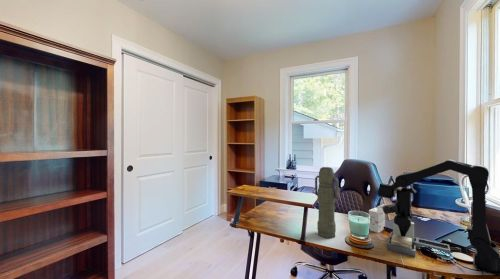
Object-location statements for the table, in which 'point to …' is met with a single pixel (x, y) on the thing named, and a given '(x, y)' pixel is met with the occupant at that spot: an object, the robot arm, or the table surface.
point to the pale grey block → (409, 234)
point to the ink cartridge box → (377, 219)
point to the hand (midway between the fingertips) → (403, 233)
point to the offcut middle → (401, 244)
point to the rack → (417, 246)
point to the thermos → (326, 202)
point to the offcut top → (402, 239)
